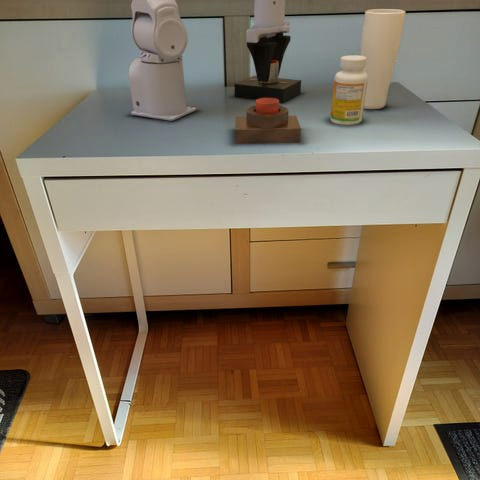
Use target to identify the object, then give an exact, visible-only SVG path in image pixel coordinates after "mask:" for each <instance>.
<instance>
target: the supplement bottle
mask: <svg viewBox="0 0 480 480" xmlns="http://www.w3.org/2000/svg"><path fill="white" fill-rule="evenodd" d="M365 65H366V57H364V56H360V55H357V54H355V55H354V54H352V55H350V54H349V55H344V56H341V57H340V62H339V67H340V71H337V72H336V73H335V75H334V79H333V89H332V97H331V98H332V99H331V110H330V121H331V122H332V123H333V124H337V125H341V126H342V125H343V126H352V125H354V126H355V125H358V124H360V123H361V122H362V121H363V116H364V102H365V95H366V88H367V81H368V75H367V73H365V72H364V71H363V68H365Z"/></svg>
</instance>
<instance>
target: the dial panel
mask: <svg viewBox="0 0 480 480" xmlns="http://www.w3.org/2000/svg"><path fill="white" fill-rule="evenodd" d="M301 91H302V79H293V78H282V77H278V82H277V83H273V84H263V83H259V82H258V79H257V75H252V76H250V77H248V78H245V79H243V80H240V81H237V82H236V83H234V97H235V98H240V99H247V100H248V99H249V100H255V101H256V100H257V99H260V98H275V99H278V100H279V104H280V103H281V104H284V103H286V102H287V101H290V100H291V99H293V98H295V97H296V96H299V95H300V94H301Z"/></svg>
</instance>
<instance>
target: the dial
mask: <svg viewBox="0 0 480 480" xmlns="http://www.w3.org/2000/svg"><path fill="white" fill-rule="evenodd" d="M278 65H279V62H278V60H272V61H271V68H270V76H269V81H268V82H260V81H258V82H259V83H263V84H273V83H277V82H278V78H279V76H278Z"/></svg>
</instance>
